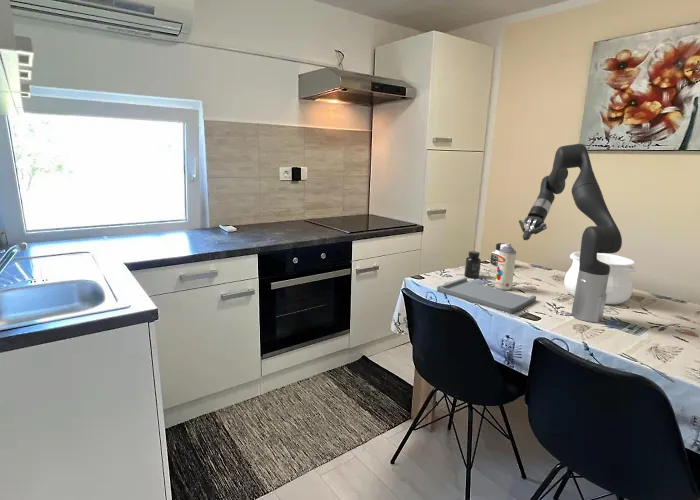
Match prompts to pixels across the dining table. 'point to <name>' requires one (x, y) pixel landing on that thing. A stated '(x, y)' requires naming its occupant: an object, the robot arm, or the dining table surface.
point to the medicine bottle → (496, 254)
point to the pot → (617, 280)
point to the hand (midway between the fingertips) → (525, 239)
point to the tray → (486, 295)
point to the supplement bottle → (472, 265)
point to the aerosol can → (505, 268)
